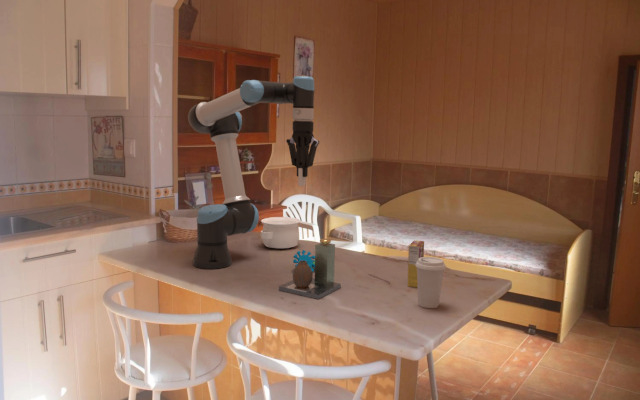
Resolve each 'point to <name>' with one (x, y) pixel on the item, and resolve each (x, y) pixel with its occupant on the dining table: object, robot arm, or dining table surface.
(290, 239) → the pot
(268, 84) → the robot arm
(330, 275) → the base
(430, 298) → the coffee cup
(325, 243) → the ram pin
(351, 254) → the dining table surface
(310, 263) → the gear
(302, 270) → the vase
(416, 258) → the candy box
